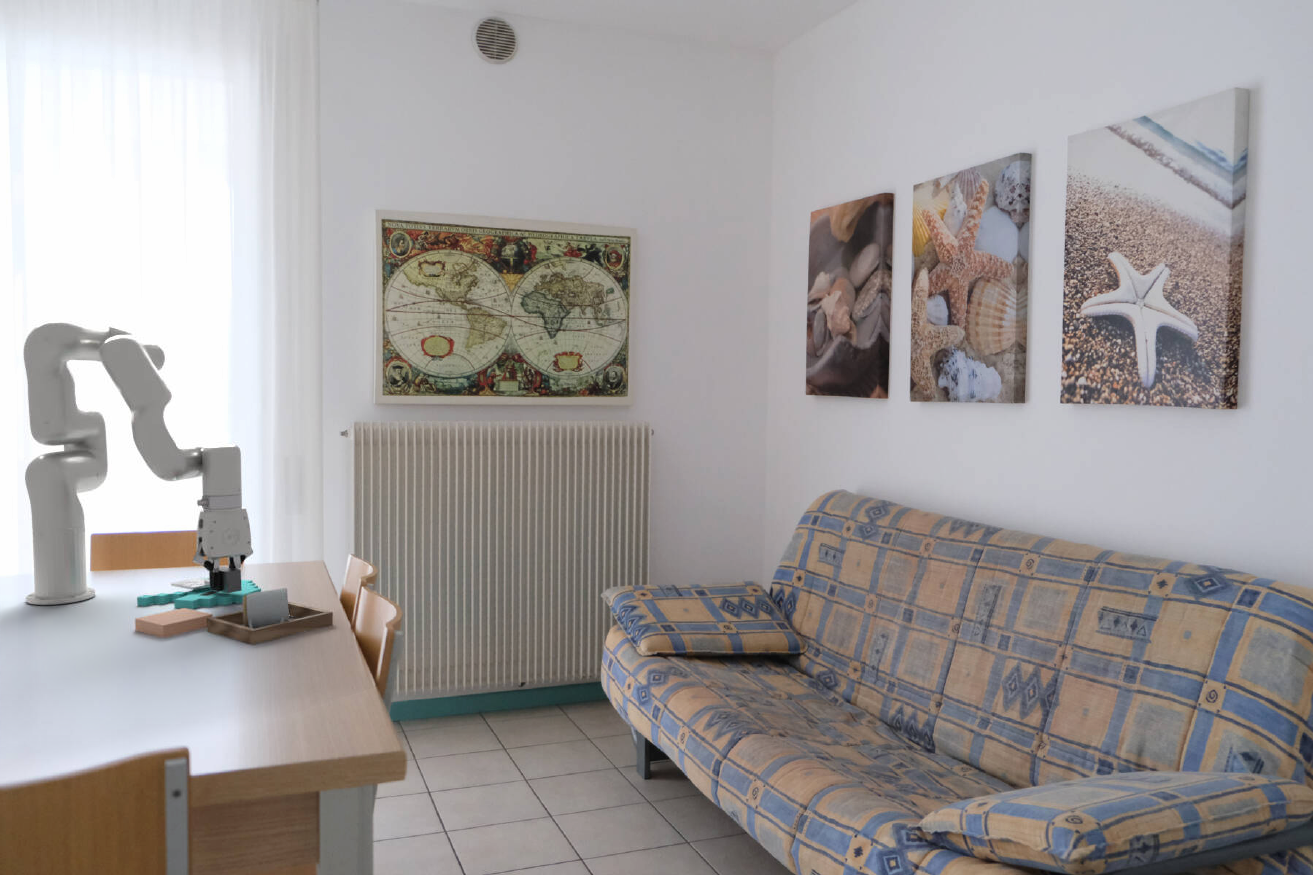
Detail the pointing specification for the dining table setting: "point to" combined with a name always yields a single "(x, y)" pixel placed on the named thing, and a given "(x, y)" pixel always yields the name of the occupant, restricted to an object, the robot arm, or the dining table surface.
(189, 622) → the block
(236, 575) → the dark grey pieces
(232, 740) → the dining table surface
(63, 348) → the robot arm
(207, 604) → the alien figure
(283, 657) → the dining table surface
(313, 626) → the wooden tray
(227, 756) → the dining table surface
